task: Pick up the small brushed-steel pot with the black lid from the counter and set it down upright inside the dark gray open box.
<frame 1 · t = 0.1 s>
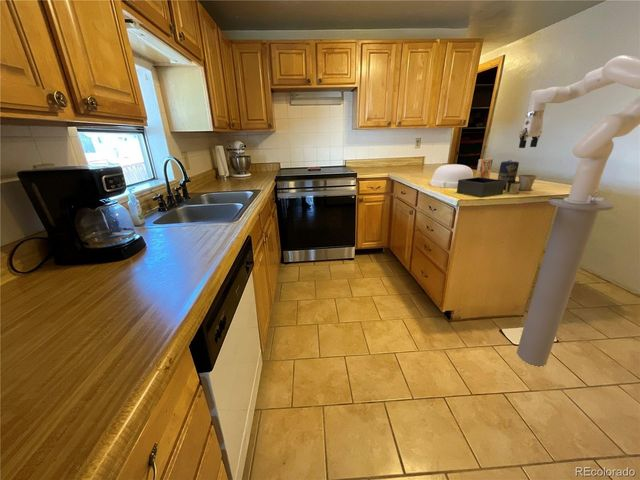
hand: (527, 147, 153), 26 cm above the countertop, tool pointing down, fingers open, 9 cm apart
candy box: (482, 179, 210), on the countertop
dark gray open box: (478, 193, 163), on the countertop
canister: (504, 189, 172), on the countertop
flower pot: (524, 189, 167), on the countertop
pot: (511, 192, 161), on the countertop
dome cover: (451, 184, 195), on the countertop
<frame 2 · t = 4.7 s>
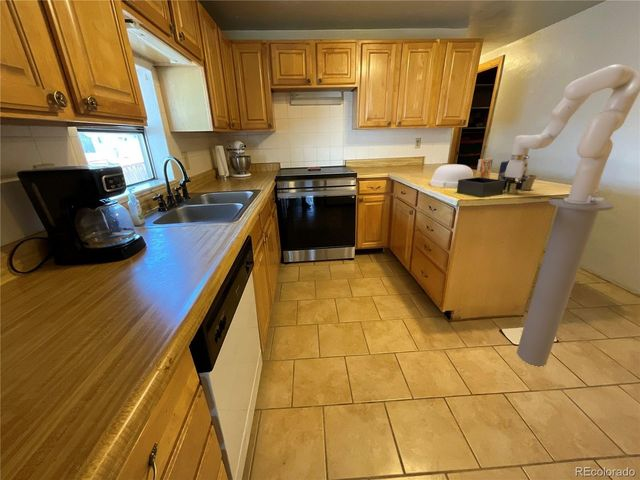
hand: (512, 188, 160), 3 cm above the countertop, tool pointing down, fingers closed on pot, 6 cm apart
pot: (511, 192, 161), on the countertop, touching gripper
everything else where it was.
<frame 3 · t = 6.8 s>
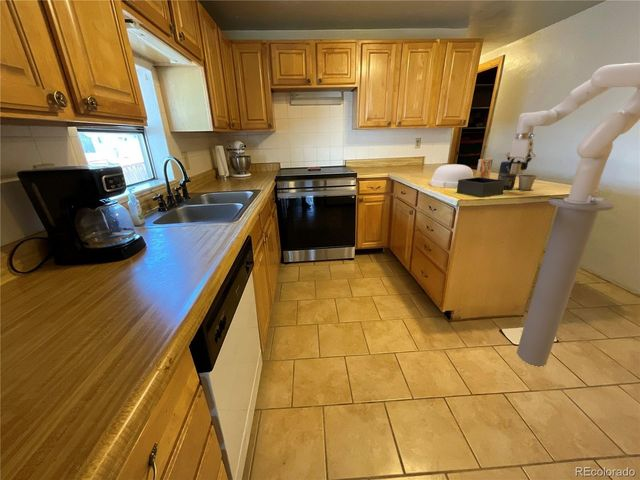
hand: (517, 169, 155), 14 cm above the countertop, tool pointing down, fingers closed on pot, 6 cm apart
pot: (516, 173, 156), point 11 cm above the countertop, touching gripper
everything else where it was.
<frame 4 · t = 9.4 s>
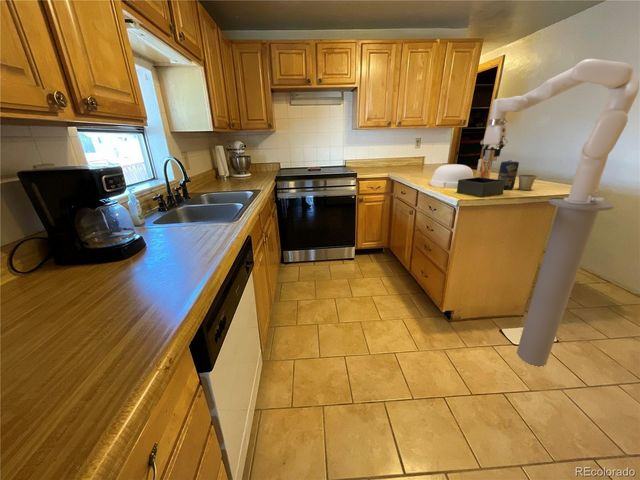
hand: (490, 155, 155), 22 cm above the countertop, tool pointing down, fingers closed on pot, 6 cm apart
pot: (490, 160, 156), point 19 cm above the countertop, touching gripper
everything else where it was.
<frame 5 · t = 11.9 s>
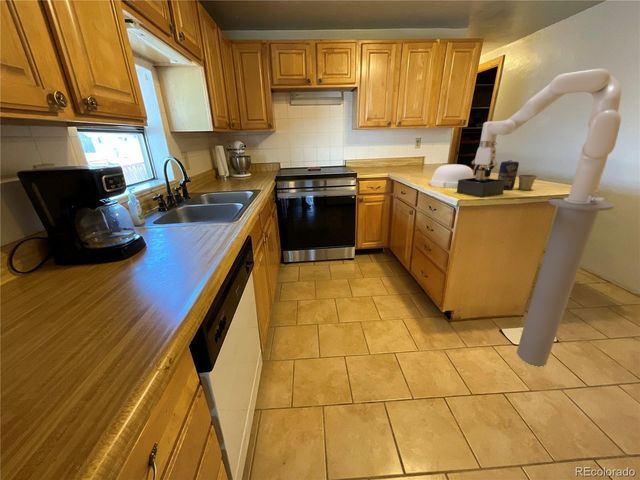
hand: (481, 175, 159), 11 cm above the countertop, tool pointing down, fingers closed on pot, 6 cm apart
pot: (481, 180, 160), point 8 cm above the countertop, touching gripper
everything else where it was.
when the fingers open (4 cm above the countertop, at t = 14.1 s): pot stays where it is, resting on dark gray open box.
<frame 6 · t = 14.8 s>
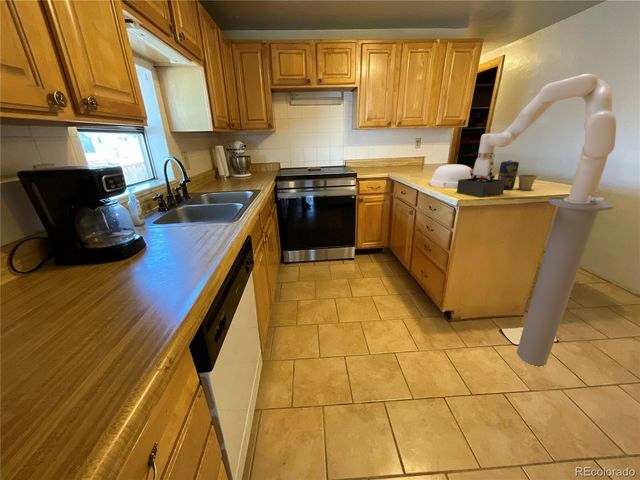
hand: (480, 185, 161), 5 cm above the countertop, tool pointing down, fingers open, 9 cm apart
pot: (479, 191, 163), point 1 cm above the countertop, touching dark gray open box
everything else where it was.
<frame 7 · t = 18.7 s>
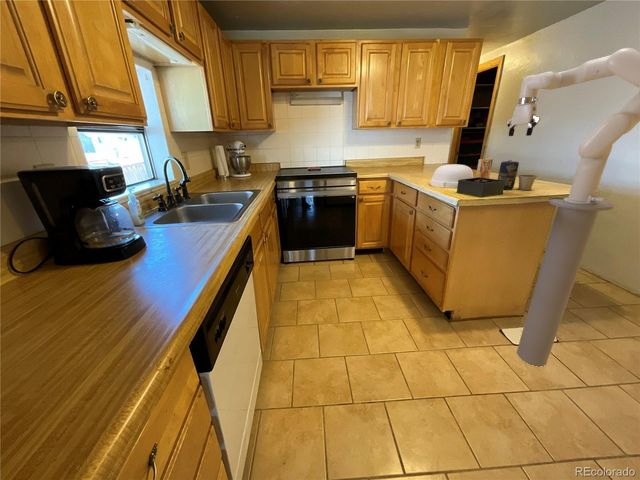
hand: (519, 135, 149), 32 cm above the countertop, tool pointing down, fingers open, 9 cm apart
nothing on the countertop moved.
at the end: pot inside the target area in the dark gray open box (0.0 cm from its centre), point 1.0 cm above the dark gray open box's base; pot tilted 0°; the gripper is holding nothing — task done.
